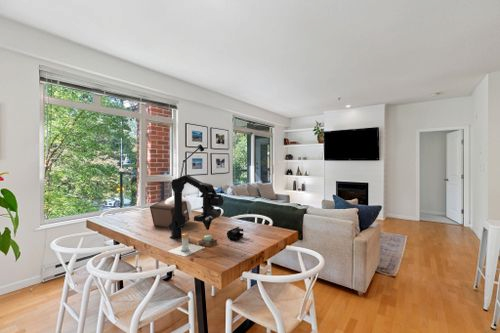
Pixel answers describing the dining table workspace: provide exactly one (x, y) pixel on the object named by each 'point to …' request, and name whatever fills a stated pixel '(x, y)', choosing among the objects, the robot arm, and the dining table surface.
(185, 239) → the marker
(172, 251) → the paper
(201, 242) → the button housing
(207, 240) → the button
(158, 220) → the tissue box
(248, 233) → the dining table surface
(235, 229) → the end cap
